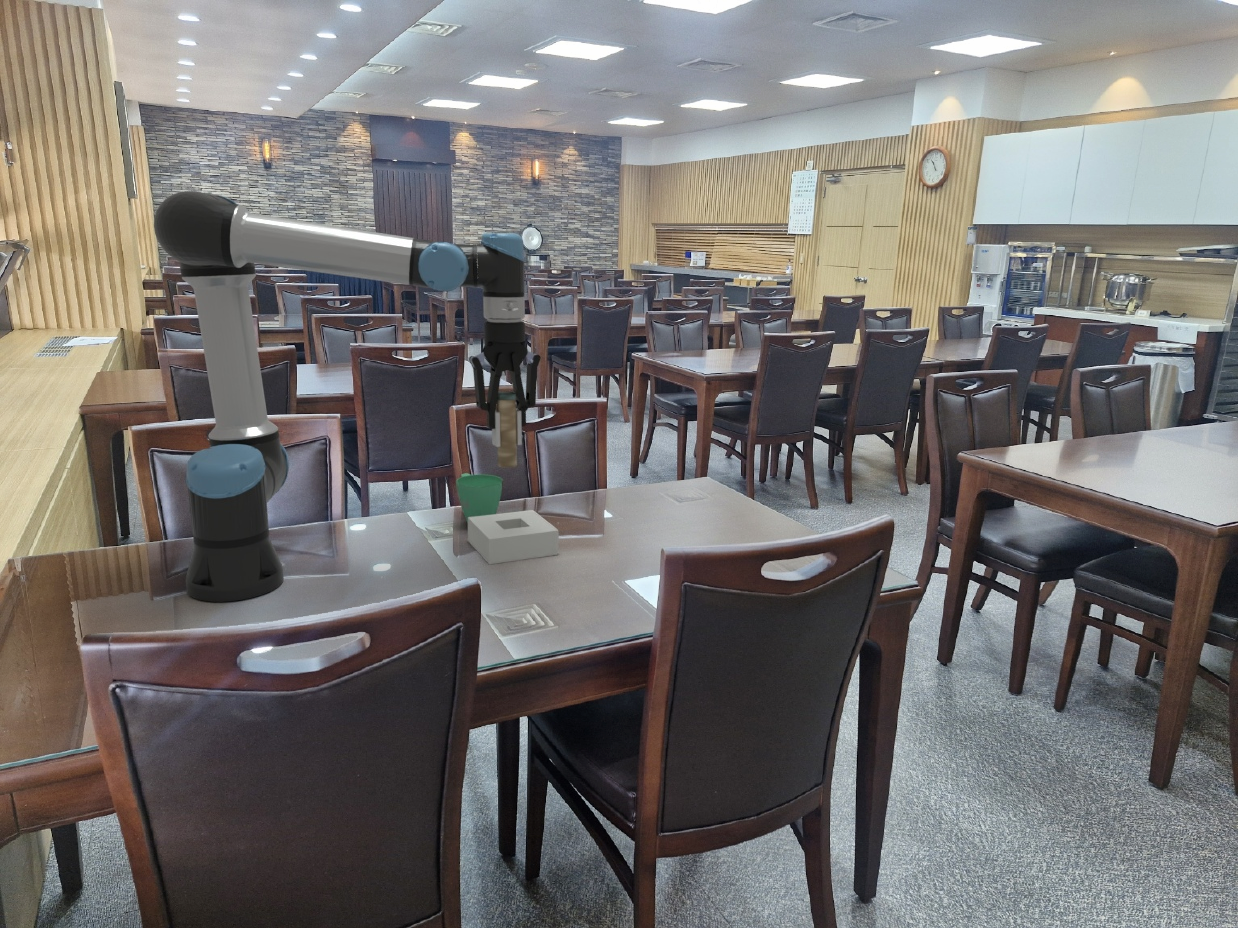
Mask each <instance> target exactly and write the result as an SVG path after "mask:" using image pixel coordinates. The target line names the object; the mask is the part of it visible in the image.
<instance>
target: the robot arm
mask: <svg viewBox="0 0 1238 928" xmlns="http://www.w3.org/2000/svg"><path fill="white" fill-rule="evenodd" d="M153 230H154V235H155V237H156V240H157V242H158V244H159V245H160V247H161V248H162V249H163V250H164V252H165V253H166V254H167V255H169V256H170V257H171V258H172V259H174V260H175V261H177V262H178V263H179V265H178V266H179V269H180V275H181V279H182V280H183V281H184V282H185V283H187V284H188V285H190V286H191V288H192V289H193V292H194V299H195V305H196V311H197V317H198V323H199V329H200V334H201V335H200V336H201V341H202V342H201V343H202V346H203V347H202V348H203V353H204V360H205V367H206V372H207V377H208V383H209V390H210V395H211V403H212V409H213V415H214V421H215V422H214V423H215V425H214V427H213V428H212V430H210V432H209V434H208V441H209V448H204V449H201V450H198V451H196V452H195V453H193V454H192V455H191V456H190V457H189V458H188V461H187V463H186V474H185V483H186V485H187V492H188V493H187V494H188V502H189V511H190V520H191V530H192V538H193V540H192V541H193V549H192V553H191V557H190V560H189V565H188V567H187V572H186V576H185V588H186V593H187V595H188V596H190V597H191V598H193V599H196V600H200V601H203V602H213V603H214V602H215V603H216V602H218V603H220V602H223V603H225V602H234V601H235V602H236V601H241V600H242V601H243V600H248V599H251V598H257V597H259V596H262V595H265V594H267V593H269V592H271V591H274V590H276V589H277V588H279V586H281V585H282V583H283V582H284V567H283V565H282V562H281V560H280V558H279V556H278V554H277V551H276V549H275V547H274V545H273V543H272V540H271V537H270V530H269V529H270V528H269V527H270V526H269V525H270V524H269V515H268V514H269V512H268V503H269V502H270V500H272V498H273V497H274V496H275V495H276V494H277V493H279V492H280V489H282V487H284V485H285V483H286V482H287V481H286V480H287V478H288V474H289V470H290V458H289V455H288V453H287V450H286V448H285V446H284V445H283V444H282V443H281V439H280V433H279V427H278V426H277V425H276V424H275V423H273V422H272V421H271V420H269V419H268V413H267V412H268V411H267V406H266V405H267V404H266V398H265V391H264V384H263V378H262V372H261V371H262V369H261V365H260V357H259V351H258V343H257V337H256V336H257V335H256V331H255V323H254V317H253V311H252V304H251V297H250V296H251V295H250V289H249V286H250V283H251V282H252V281H253V280H254V279H255V277H256V276H257V273H256V265H257V264H258V265H263V266H271V267H279V268H286V269H294V270H299V271H300V270H301V271H308V272H315V273H323V274H328V275H329V274H330V275H337V276H343V277H351V278H359V279H366V280H372V281H379V282H386V283H395V284H400V285H401V284H402V285H408V286H414V287H421V288H427V289H433V290H434V291H438V292H452V291H454V290H456V289H458V288H465V287H466V288H469V287H470V288H478V287H479V288H480V287H481V288H482V294H483V295H482V298H483V303H482V304H483V318H484V319H485V320H486V321H484V323H483V333H484V334H483V340H484V345H483V348H482V350H481V352H480V353H478V354H477V355H471V356H469V358H468V361H469V363H470V365H471V368H472V371H473V373H472V374H473V381H474V383H473V384H474V392H475V395H474V396H475V405H476V407H477V408H478V409H480V410H482V411H485V412H486V426H487V428H488V429H489V430H491V437H492V438H491V440H492V446H494V447H496V448H498V447H500V413H499V412H497V398H498V392H500V391H499V389H500V384H501V378H502V376H503V372H506V371H508V372H509V374H510V379H511V380H510V381H511V384H512V388H513V392H515V393H516V444H517V445H518V446H523V445H522V444H523V443H522V442H523V438H522V437H523V436H522V433H523V432H522V430H523V429H522V428H523V427H526V425H527V411H528V410H529V408H531V407H535V406H536V405H537V404H536V401H537V384H538V383H537V382H538V381H537V380H538V378H537V377H538V366H539V364H540V361H541V359H542V358H541V355H540V354H538V353H534V352H531V351H528V347H527V345H526V323H525V322H524V321H522V320H523V319H525V317H526V311H525V309H526V307H525V306H526V303H525V298H526V297H525V253H524V240H523V237H522V236H521V235H520V234H517V233H512V232H511V233H507V232H506V233H505V232H503V233H502V232H500V233H499V232H496V233H495V232H484V233H483V234H482V235H481V240H480V243H473V244H467V243H466V244H465V243H451V242H447V241H446V242H445V241H433V240H428V239H422V238H414V237H408V236H402V235H398V234H397V235H395V234H390V233H389V234H388V233H381V232H377V231H376V232H375V231H371V230H370V231H369V230H362V229H357V228H350V227H343V226H337V225H331V224H323V223H317V222H311V221H304V220H300V219H299V220H297V219H291V218H284V217H278V216H273V215H272V216H271V215H266V214H259V213H253V212H250V211H249V210H248V209H247V207H246V206H244V205H243V204H238V203H236V202H235V201H233V200H232V199H230V198H227V197H225V196H222V195H219V194H217V195H216V194H210V193H203V192H199V191H195V190H193V191H192V190H188V191H187V190H186V191H185V190H184V191H179V192H176V193H174V194H171V195H169V196H168V197H167V198H165V199H164V200H163V201H161V203H160V204H159V206H158V208H157V209H156V211H155V214H154V219H153ZM484 360H486V362H487V363H488V364H489V365H490V371H489V374H490V376H489V381H488V382H489V383H488V389H487V390H488V391H487V396H486V388H485V374H484V369H483V368H484V367H483V366H484V365H485V361H484ZM524 360H526V361H525V363H527V365H526V377H525V378H526V381H525V389H524V386H523V385H524V384H523V380H522V376H521V375H522V370H521V367H520V366H521V365H522V363H523V361H524ZM524 390H525V391H524Z"/></svg>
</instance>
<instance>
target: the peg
mask: <svg viewBox="0 0 1238 928" xmlns="http://www.w3.org/2000/svg"><path fill="white" fill-rule="evenodd" d="M516 409H517V405H516V393H515V392H514V391H498V398H497V404H496V411H497V412H499V413H500V447H497V466H498V467H499V468H503V469H505V468H506V469H507V468H515V467H518V456H517V455H518V454H517V450H518V449H517V448H518V447H517V444H516Z"/></svg>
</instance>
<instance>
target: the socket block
mask: <svg viewBox="0 0 1238 928" xmlns="http://www.w3.org/2000/svg"><path fill="white" fill-rule="evenodd" d="M559 532H560V531H559V530H558V528H556V527H555V526H554V525H553V524H551V523H550V522H549V521H547V520H546V519H545V518H543V516H541V515H540V514H539V513H537V512H536V511H535V510H533V509H529V510H520V511H513V512H512V511H511V512H504V513H503V512H502V513H496V514H493V515H484V516H475V517H468V523H467V541H468V543H469V544H470V545H471V546H472V547H473V548H474V549H475V551H477V552H478V553H479V555H480V556H481V557H482V558H483V559H484V560H485V561H486V562H487V563H488V565H495V564H500V563H501V564H502V563H509V562H516V561H523V560H529V559H536V558H544V557H545V558H546V557H550V556H558V555H559V545H560V544H559V539H560V537H559V535H560V533H559Z"/></svg>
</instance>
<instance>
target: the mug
mask: <svg viewBox="0 0 1238 928" xmlns="http://www.w3.org/2000/svg"><path fill="white" fill-rule="evenodd" d="M455 486H456V490H457V496H458V499H459V502H460V503H459V504H460V507H461V510H462V512H463V515H464V517H465V519H466V522H467V524H468V517H475V516H484V515H493V514H497V511H498V508H499V506H500V501H501V496H502V492H503V486H504V479H503V478H502V477H500V476H497V475H492V474H470V473H468V472H466V473H461V475H460V476H459V478H457V479H456V482H455Z"/></svg>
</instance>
